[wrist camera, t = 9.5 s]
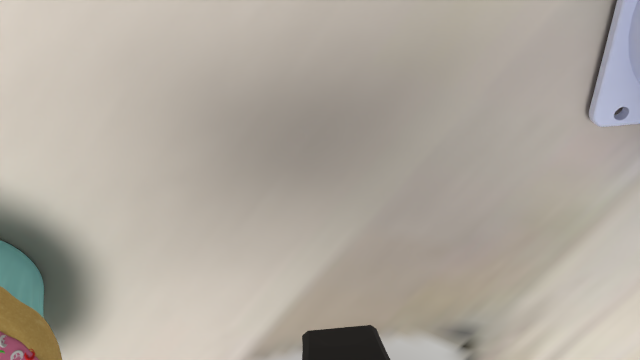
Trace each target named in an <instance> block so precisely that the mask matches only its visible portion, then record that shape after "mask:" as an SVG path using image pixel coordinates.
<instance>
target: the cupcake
mask: <svg viewBox="0 0 640 360" xmlns="http://www.w3.org/2000/svg"><path fill="white" fill-rule="evenodd" d="M43 305H44V283H43V279H42V276H41V274H40V272H39V270H38V269H37V267H36V266H35V264H34V263H33V262H32V261H31V260H30V259H29V258H28V257H27V256H26V255H25V254H24V253H22V252H21V251H20V250H18V249H17V248H15V247H13V246H12V245H10V244H8V243H6V242H4V241H1V240H0V360H62V357H61V352H60V348H59V345H58V343H57V340H56V338H55V336H54V334H53V332H52V330H51V328H50V326H49V325H48V323H47V322H46V321H45V319H44V318H43Z"/></svg>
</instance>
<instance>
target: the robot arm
mask: <svg viewBox="0 0 640 360" xmlns="http://www.w3.org/2000/svg"><path fill="white" fill-rule="evenodd" d="M621 107H623V109H622V110H621V112H620V113H618V114H617V115H614V114H615V112H616V110H618V109H619V108H621ZM589 118H590V120H591V121H592V122H593V123H595V124H596V125H598V126H601V127H607V126H620V125H632V124H640V0H617V4H616V8H615V12H614V15H613V19H612V23H611V27H610V31H609V35H608V39H607V43H606V47H605V51H604V55H603V59H602V63H601V67H600V71H599V74H598V78H597V82H596V86H595V90H594V94H593V98H592V102H591V106H590V110H589ZM302 340H303V355H302V360H390V358H389V356H388V354H387V352H386V350H385V348H384V346H383V344H382V341H381V339H380V337H379V335H378V332H377V330H376V328H374V327H373V326H371V325H367V326H356V327H345V328H335V329H324V330H313V331H307V332H306V333H305V334H304V335H303V336H302Z"/></svg>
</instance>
